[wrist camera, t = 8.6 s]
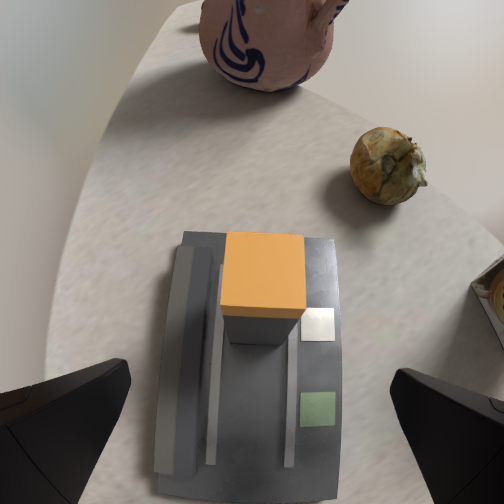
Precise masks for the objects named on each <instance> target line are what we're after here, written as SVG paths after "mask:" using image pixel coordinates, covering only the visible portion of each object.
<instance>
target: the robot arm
mask: <svg viewBox="0 0 504 504" xmlns="http://www.w3.org/2000/svg"><path fill="white" fill-rule="evenodd" d="M130 386H131V376H130V372H129V368H128V363H127V361H126V360H125V359H119V358H113V359H110V360H108V361H105V362H102V363H99V364H96V365H93V366H90V367H87V368H84V369H81V370H78V371H75V372H72V373H69V374H66V375H63V376H60V377H57V378H54V379H51V380H48V381H44V382H41V383H38V384H35V385H32V387H31V386H27V387H23V388H20V389H16V390H13V391H9V392H4V393H0V504H78V502H79V499H80V497H81V495H82V493H83V491H84V489H85V486H86V484H87V482H88V480H89V478H90V476H91V474H92V472H93V469H94V467H95V465H96V463H97V461H98V459H99V457H100V455H101V453H102V451H103V449H104V447H105V445H106V443H107V441H108V439H109V437H110V435H111V433H112V431H113V429H114V427H115V425H116V423H117V421H118V419H119V416H120V414H121V411H122V408H123V405H124V403H125V400H126V397H127V394H128V391H129V388H130ZM390 395H391V398H392V401H393V404H394V407H395V410H396V413H397V417H398V420H399V422H400V425H401V427H402V430H403V432H404V434H405V436H406V438H407V441H408V443H409V445H410V447H411V449H412V452H413V454H414V456H415V459H416V461H417V463H418V466H419V468H420V470H421V473H422V475H423V477H424V480H425V482H426V485H427V487H428V489H429V492H430V494H431V497H432V499H433V502H434V504H504V402H503V401H500V400H497V399H494V398H491V397H489V398H488V397H487V396H484V395H481V394H478V393H475V392H472V391H469V390H466V389H464V388H461V387H458V386H455V385H452V384H450V383H447V382H444V381H441V380H439V379H436V378H433V377H431V376H428V375H425V374H423V373H420V372H418V371H415V370H412V369H410V368H402V369H398V370H397V371H396V373H395V376H394V379H393V381H392V383H391V386H390Z"/></svg>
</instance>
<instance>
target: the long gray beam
mask: <svg viewBox="0 0 504 504" xmlns="http://www.w3.org/2000/svg"><path fill="white" fill-rule="evenodd" d="M212 259H213V253H212V248H209V247H190V246H178V248H177V253H176V259H175V265H174V271H173V277H172V283H171V290H170V296H169V303H168V310H167V317H166V325H165V332H164V341H163V349H162V358H161V367H160V377H159V388H158V400H157V414H156V429H155V449H154V472H157V473H162V474H167V475H173V476H179V477H186V478H193V477H194V476H195V474H196V454H197V434H198V416H199V401H200V386H201V373H202V360H203V349H204V337H205V326H206V316H207V305H208V296H209V286H210V277H211V268H212Z"/></svg>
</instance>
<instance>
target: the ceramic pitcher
mask: <svg viewBox="0 0 504 504" xmlns="http://www.w3.org/2000/svg"><path fill="white" fill-rule="evenodd" d="M348 2H349V0H205V2H204V5H203V8H202V12H201V17H200V25H199V38H200V44H201V47H202V50H203V53H204V55H205V57H206V59H207V60H208V62H209V63H210V65H211V66H212V67H213V68H214V69H215V70H216V71H217V72H218V73H220V74H221V75H223V76H224V77H225V78H226V79H227V80H229V81H230V82H233V83H235V84H238V85H240V86H243V87H249V88H253V89H256V90H262V91H266V92H273V91H275V90H283V89H287V88H291V87H295V86H296V85H299V84H301V83H303V82H305V81H307V80H308V79H310V78H311V77H312V76H314V75H315V74H316V73H317V72H318V71H319V70H320V68H321V67H322V66H323V65H324V63H325V61H326V60H327V58H328V56H329V54H330V51H331V49H332V43H333V31H334V22H333V20H334V19H335V18H336V16H337V15H338V14H339V13H340V12H341V10H342V9H343V8H344V6H345V5H346V4H347V3H348Z"/></svg>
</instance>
